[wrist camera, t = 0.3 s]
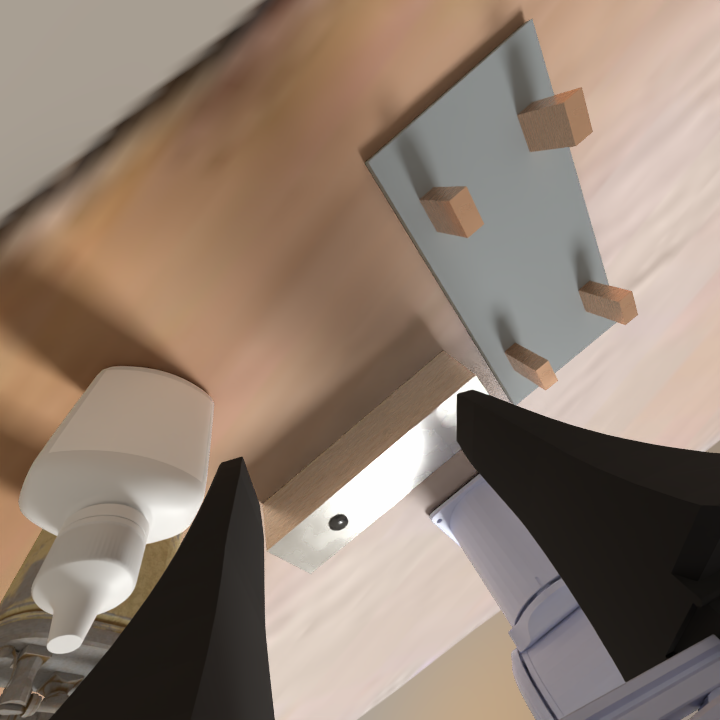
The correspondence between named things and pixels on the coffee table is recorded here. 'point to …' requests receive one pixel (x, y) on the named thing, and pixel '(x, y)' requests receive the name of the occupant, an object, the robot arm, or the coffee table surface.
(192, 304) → the coffee table surface
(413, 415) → the silver long block
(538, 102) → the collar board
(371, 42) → the coffee table surface
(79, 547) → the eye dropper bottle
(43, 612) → the lighter
